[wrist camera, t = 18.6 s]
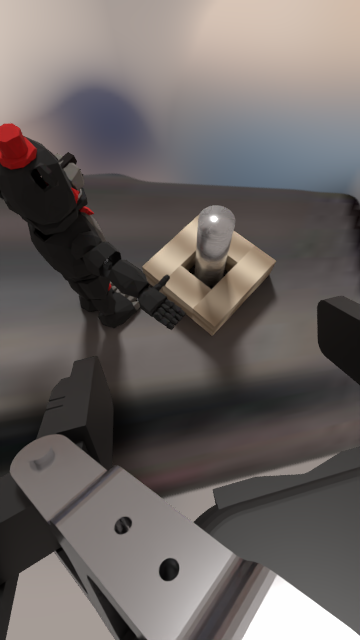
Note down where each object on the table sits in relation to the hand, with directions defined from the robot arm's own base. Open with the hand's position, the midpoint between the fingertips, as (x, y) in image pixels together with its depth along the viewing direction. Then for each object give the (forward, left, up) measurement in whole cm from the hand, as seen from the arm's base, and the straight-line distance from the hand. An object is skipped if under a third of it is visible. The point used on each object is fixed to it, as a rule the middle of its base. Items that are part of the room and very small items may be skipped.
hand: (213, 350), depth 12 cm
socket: (+18, +13, -35) cm, 41 cm away
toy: (+4, +21, -35) cm, 41 cm away
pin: (+18, +13, -35) cm, 41 cm away
